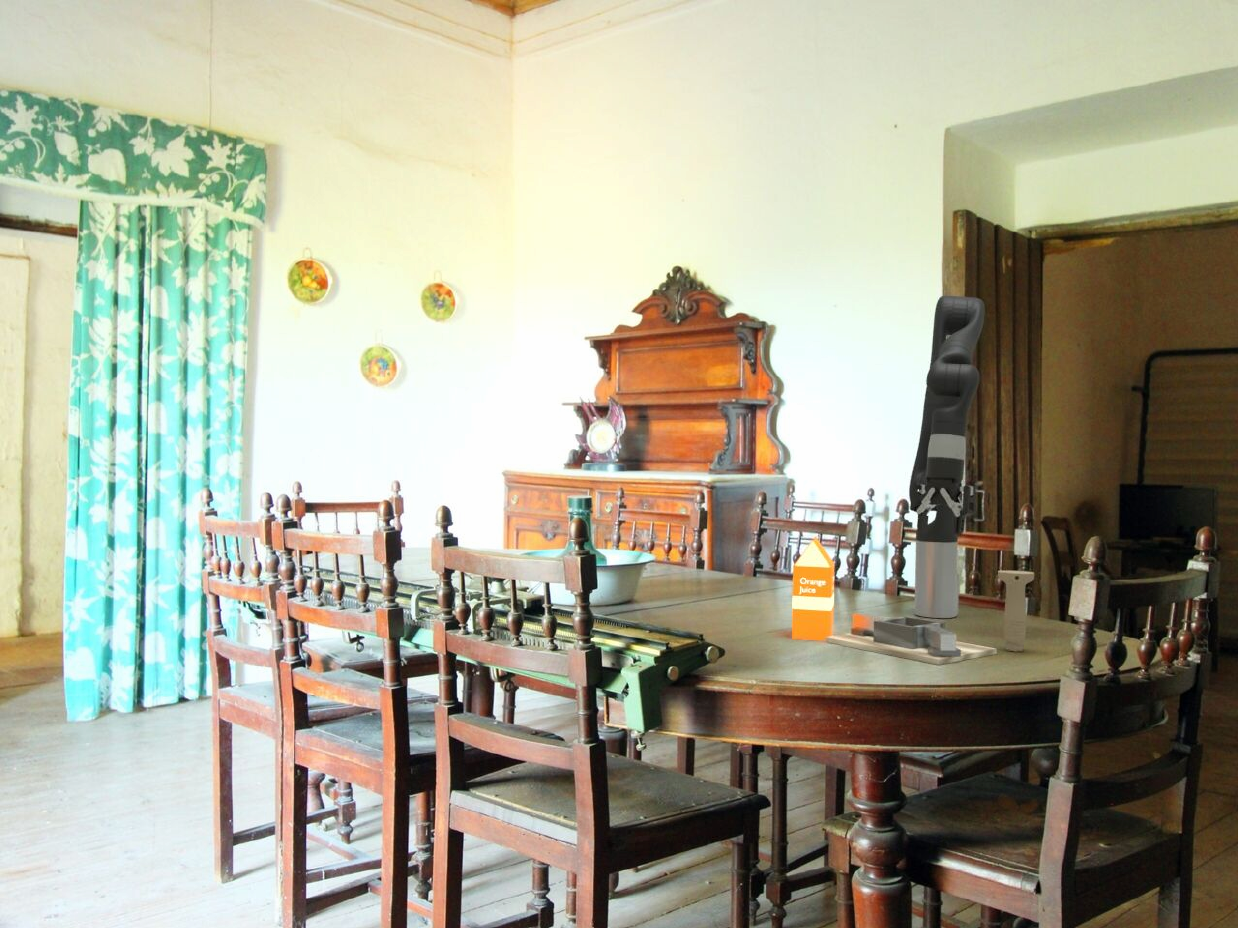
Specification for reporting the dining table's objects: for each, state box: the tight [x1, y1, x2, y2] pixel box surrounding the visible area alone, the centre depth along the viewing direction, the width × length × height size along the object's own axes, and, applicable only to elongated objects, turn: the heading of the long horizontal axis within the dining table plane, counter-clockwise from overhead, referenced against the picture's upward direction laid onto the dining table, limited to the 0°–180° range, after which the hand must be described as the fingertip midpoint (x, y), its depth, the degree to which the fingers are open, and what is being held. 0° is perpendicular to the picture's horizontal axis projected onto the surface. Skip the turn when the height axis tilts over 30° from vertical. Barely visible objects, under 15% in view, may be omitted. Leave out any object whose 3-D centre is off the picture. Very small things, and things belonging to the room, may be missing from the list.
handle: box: [997, 570, 1035, 653], centre depth 197 cm, size 5×6×15 cm
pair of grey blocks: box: [850, 612, 961, 657], centre depth 196 cm, size 10×26×4 cm, turn 38°
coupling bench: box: [825, 615, 998, 666], centre depth 198 cm, size 18×26×5 cm
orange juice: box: [791, 536, 835, 642], centre depth 209 cm, size 8×9×20 cm
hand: (939, 533), depth 217 cm, fingers open, 8 cm apart
